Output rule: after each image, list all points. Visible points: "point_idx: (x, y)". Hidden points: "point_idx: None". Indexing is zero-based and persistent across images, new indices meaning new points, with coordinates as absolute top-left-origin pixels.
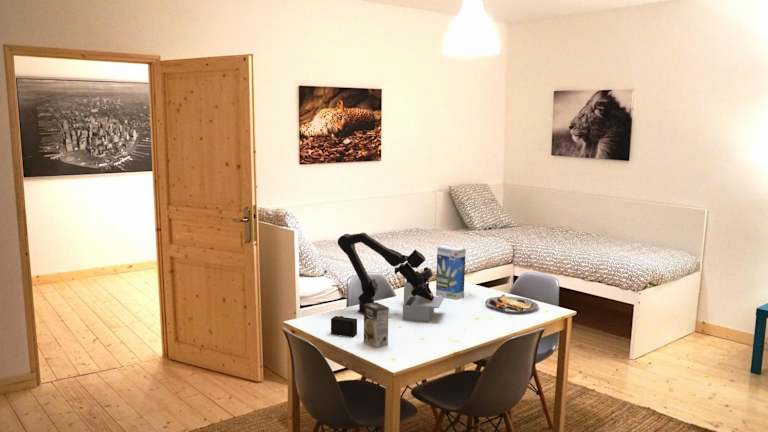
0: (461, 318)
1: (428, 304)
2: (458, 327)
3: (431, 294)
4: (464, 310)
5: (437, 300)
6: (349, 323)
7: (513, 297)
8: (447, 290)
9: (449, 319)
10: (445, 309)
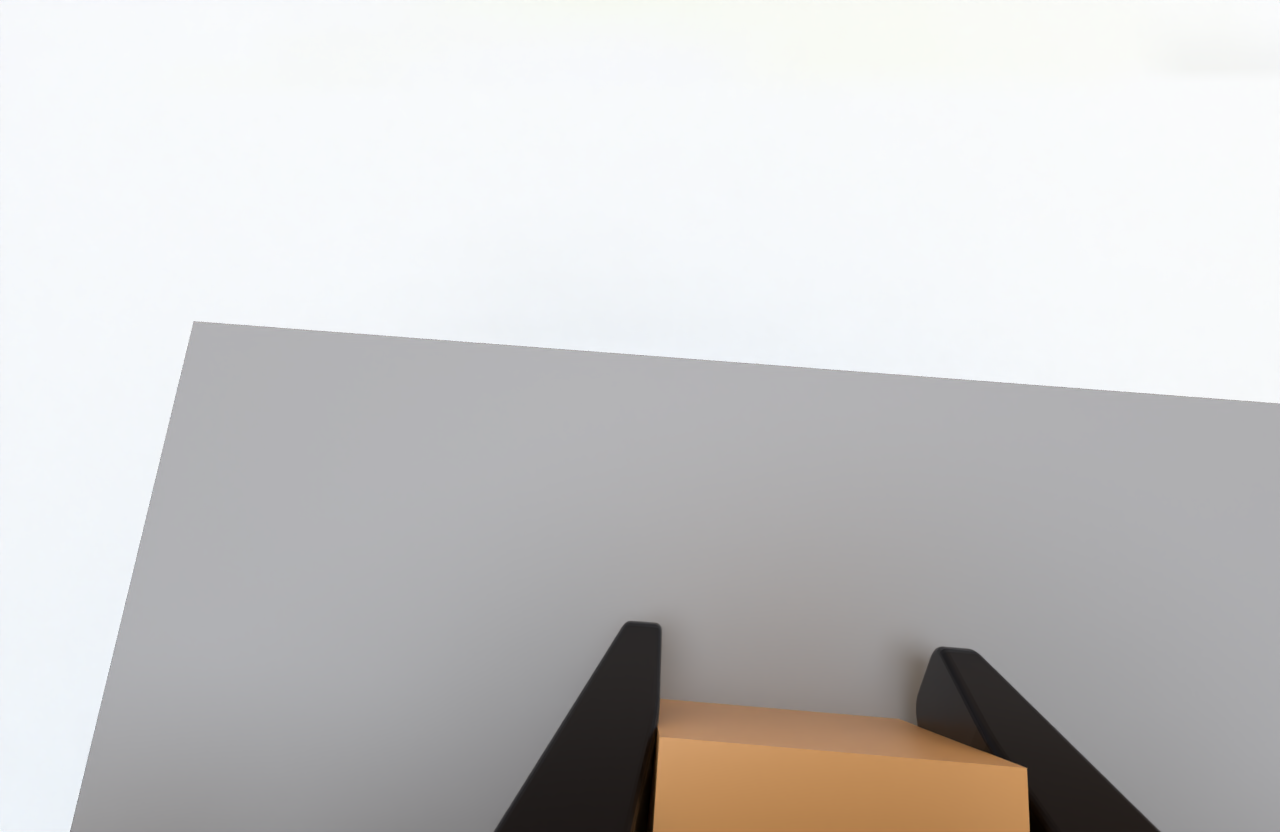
0: (676, 120)
1: (1263, 805)
2: (1185, 153)
3: (868, 775)
4: (195, 83)
5: (649, 500)
6: None
7: None
8: None
9: (778, 310)
10: (136, 410)
